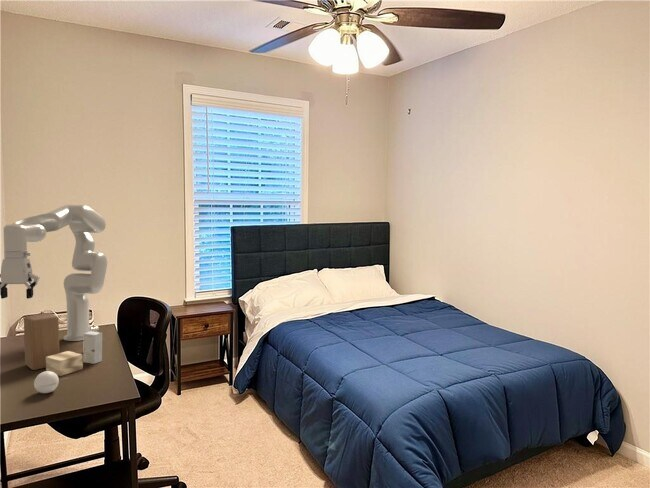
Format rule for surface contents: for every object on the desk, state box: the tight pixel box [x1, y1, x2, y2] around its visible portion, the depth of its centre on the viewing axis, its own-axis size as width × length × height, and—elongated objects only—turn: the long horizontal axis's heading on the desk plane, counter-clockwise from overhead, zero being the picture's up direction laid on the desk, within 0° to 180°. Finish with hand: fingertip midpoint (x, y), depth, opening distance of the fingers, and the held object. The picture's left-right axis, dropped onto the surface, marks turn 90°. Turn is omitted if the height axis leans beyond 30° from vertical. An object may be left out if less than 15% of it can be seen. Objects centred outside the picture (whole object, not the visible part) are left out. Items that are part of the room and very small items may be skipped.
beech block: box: [45, 350, 84, 377], centre depth 178 cm, size 9×9×6 cm
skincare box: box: [82, 331, 103, 365], centre depth 188 cm, size 6×4×12 cm
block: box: [23, 312, 60, 371], centre depth 183 cm, size 10×10×20 cm
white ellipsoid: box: [33, 370, 67, 394], centre depth 157 cm, size 10×7×7 cm
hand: (17, 297), depth 184 cm, fingers open, 9 cm apart
